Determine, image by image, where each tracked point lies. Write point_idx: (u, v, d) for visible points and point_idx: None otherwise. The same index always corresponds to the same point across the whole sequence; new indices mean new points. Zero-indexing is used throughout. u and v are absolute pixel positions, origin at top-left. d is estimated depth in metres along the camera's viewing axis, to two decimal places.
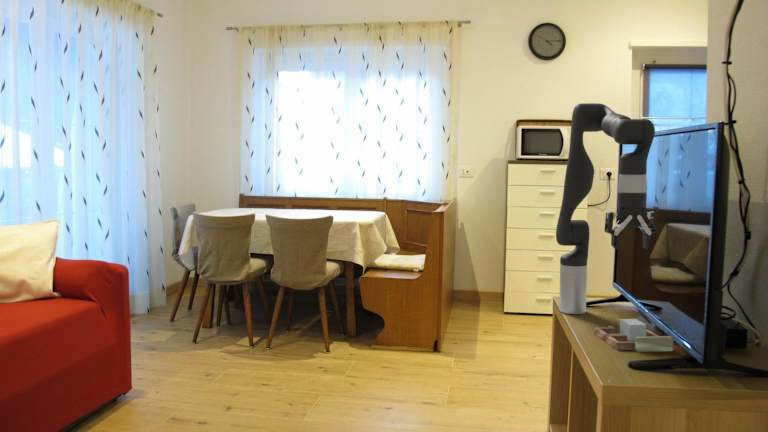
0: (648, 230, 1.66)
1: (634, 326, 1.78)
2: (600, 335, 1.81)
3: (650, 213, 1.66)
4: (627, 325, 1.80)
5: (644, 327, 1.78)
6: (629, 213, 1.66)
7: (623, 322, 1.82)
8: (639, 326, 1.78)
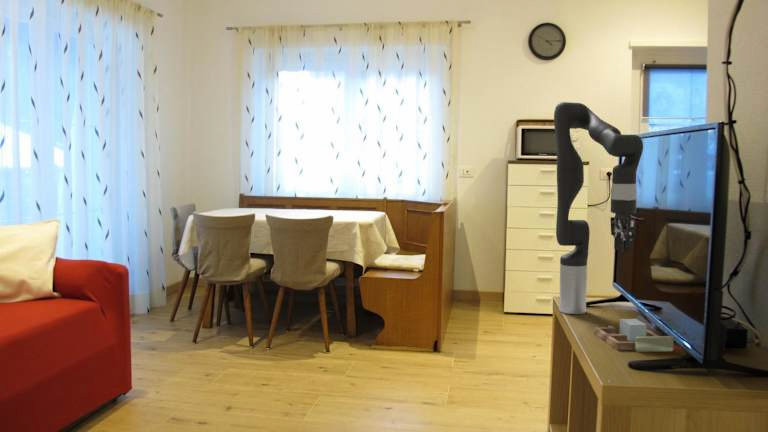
0: None
1: (634, 326, 1.78)
2: (600, 335, 1.81)
3: None
4: (627, 325, 1.80)
5: (644, 327, 1.78)
6: None
7: (623, 322, 1.82)
8: (639, 326, 1.78)
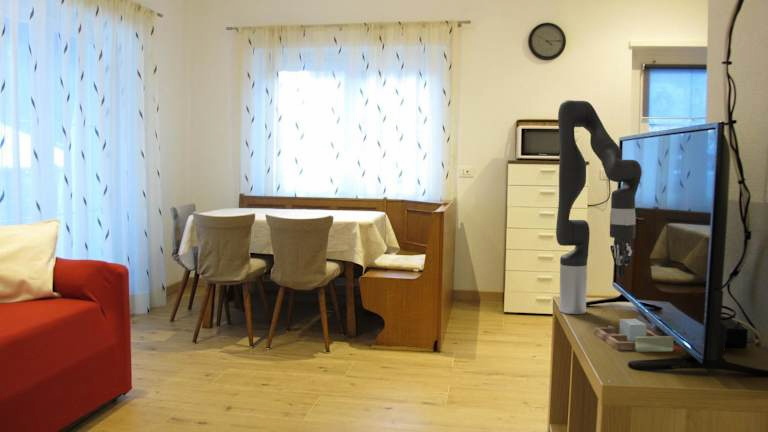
0: None
1: (634, 326, 1.78)
2: (600, 335, 1.81)
3: None
4: (627, 325, 1.80)
5: (644, 327, 1.78)
6: None
7: (623, 322, 1.82)
8: (639, 326, 1.78)
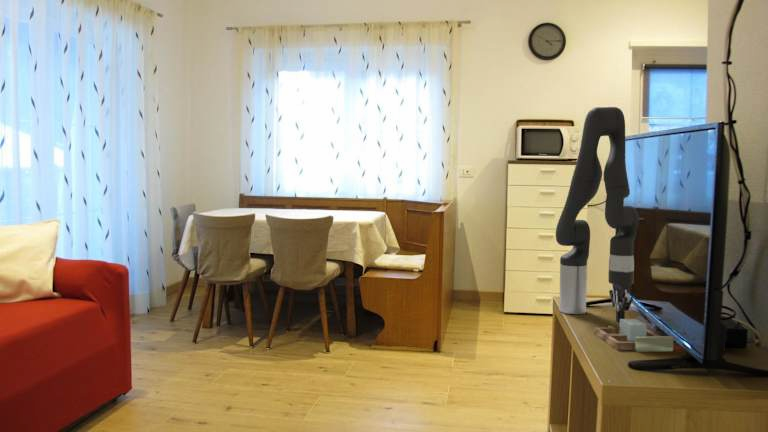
0: None
1: (634, 326, 1.78)
2: (600, 335, 1.81)
3: None
4: (627, 325, 1.80)
5: (644, 327, 1.78)
6: None
7: (623, 322, 1.82)
8: (639, 326, 1.78)
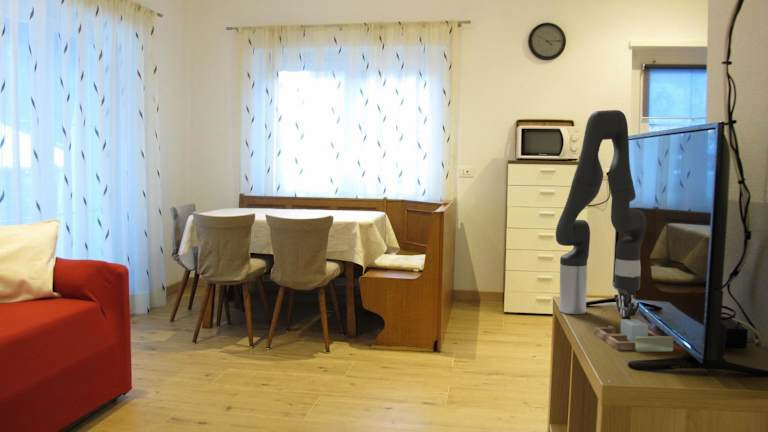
0: None
1: (636, 326, 1.77)
2: (600, 335, 1.81)
3: None
4: (629, 325, 1.79)
5: (646, 328, 1.77)
6: None
7: (624, 322, 1.81)
8: (641, 326, 1.77)
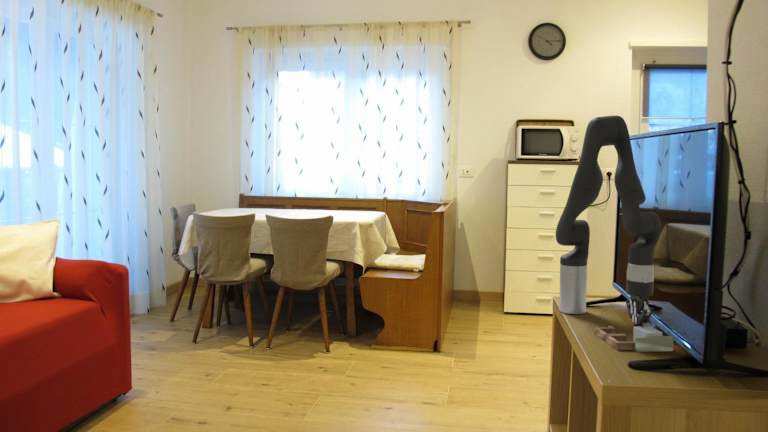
0: None
1: (650, 334, 1.69)
2: (600, 335, 1.81)
3: None
4: (642, 333, 1.70)
5: (660, 335, 1.69)
6: None
7: (637, 330, 1.73)
8: (655, 334, 1.69)
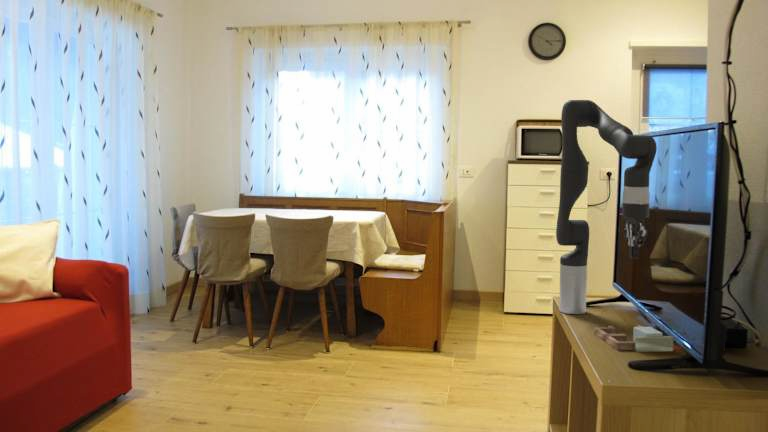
0: None
1: (650, 335, 1.69)
2: (600, 335, 1.81)
3: None
4: (642, 334, 1.70)
5: None
6: None
7: (637, 330, 1.73)
8: (655, 335, 1.69)
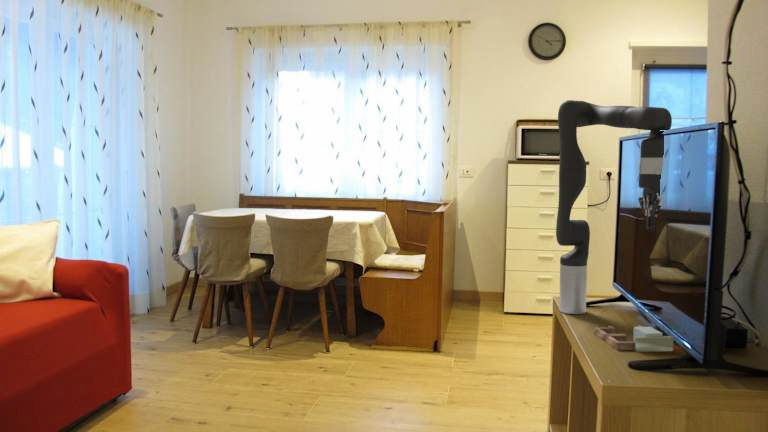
0: None
1: (650, 335, 1.69)
2: (600, 335, 1.81)
3: None
4: (642, 334, 1.70)
5: None
6: None
7: (637, 330, 1.73)
8: (655, 335, 1.69)
